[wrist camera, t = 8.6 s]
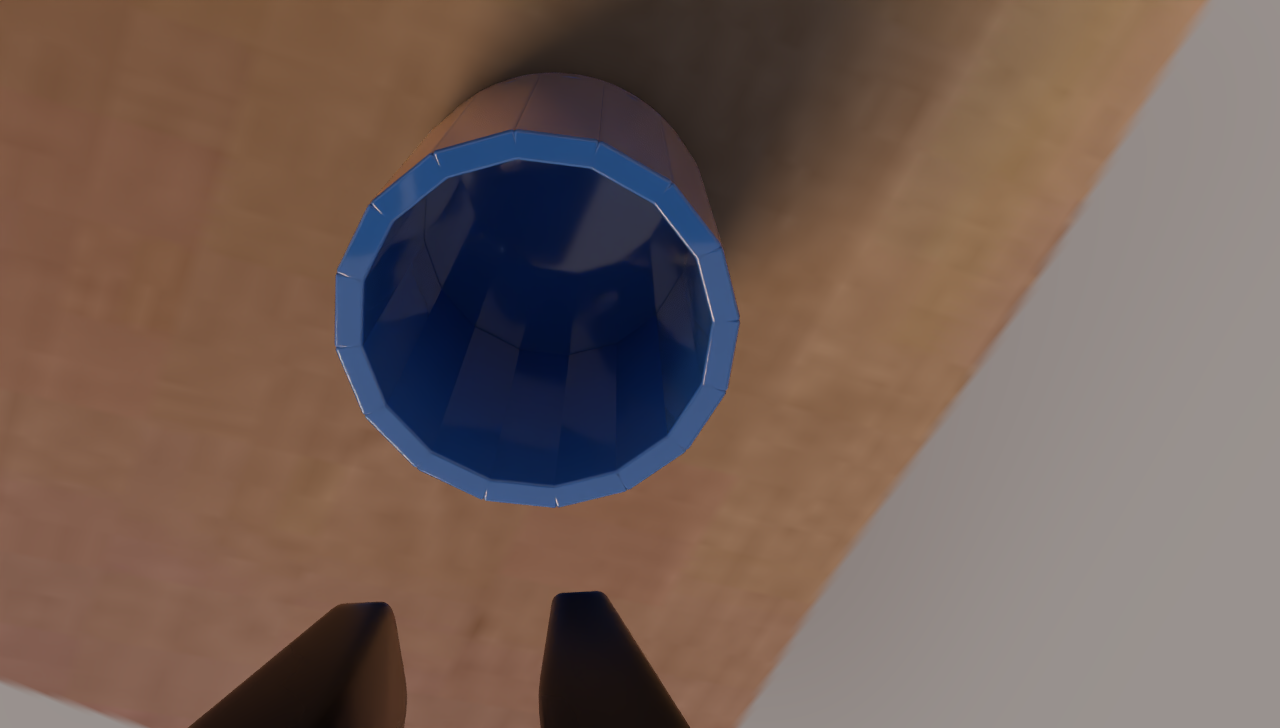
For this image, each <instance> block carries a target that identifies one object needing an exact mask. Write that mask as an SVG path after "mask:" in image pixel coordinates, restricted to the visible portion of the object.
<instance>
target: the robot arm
mask: <svg viewBox="0 0 1280 728" xmlns="http://www.w3.org/2000/svg"><path fill="white" fill-rule="evenodd" d="M406 705H407V690H406V680H405V674H404V668H403V662H402V656H401V650H400V645H399V639H398V633H397V627H396V621H395V616H394V613H393V611H392V609H391V607H390V606H389V605H388V604H387V603H385V602H366V603H346V604H340V605H337V606H336V607H334V608H333V609H331V610H330V611H329V612H328V613H327V614H325V615H324V616H323V617H322V618H320V619H319V620H318V621H317V622H316V623H314V624H313V625H312V626H311V627H310V628H308V629H307V630H306V631H305V632H304V633H302V634H301V635H300V636H299V637H297V638H296V639H295V640H294V641H293V642H291V643H290V644H289V645H288V646H287V647H285V648H284V649H283V650H282V651H280V652H279V653H278V654H277V655H276V656H274V657H273V658H272V659H271V660H270V661H268V662H267V663H266V664H265V665H263V666H262V667H261V668H260V669H259V670H257V671H256V672H255V673H254V674H253V675H251V676H250V677H249V678H248V679H247V680H245V681H244V682H243V683H242V684H240V685H239V686H238V687H237V688H236V689H234V690H233V691H232V692H231V693H230V694H228V695H227V696H226V697H225V698H223V699H222V700H221V701H220V702H219V703H217V704H216V705H215V706H214V707H213V708H211V709H210V710H209V711H208V712H207V713H205V714H204V715H203V716H202V717H200V718H199V719H198V720H197V721H196V722H194V723H193V724H192V725H191V726H190V727H188V728H404V724H405V717H406ZM539 714H540V725H541V728H690V727H689V725H688V724H687V722H686V720H685V719H684V717H683V716H682V714H681V712H680V711H679V709H678V708H677V706H676V705H675V703H674V701H673V700H672V698H671V697H670V695H669V694H668V692H667V690H666V689H665V687H664V686H663V684H662V682H661V681H660V679H659V678H658V676H657V675H656V673H655V671H654V670H653V668H652V667H651V665H650V664H649V662H648V660H647V659H646V657H645V656H644V654H643V652H642V651H641V649H640V648H639V646H638V645H637V643H636V641H635V640H634V638H633V637H632V635H631V633H630V632H629V630H628V629H627V627H626V626H625V624H624V622H623V621H622V619H621V618H620V616H619V615H618V613H617V611H616V610H615V608H614V607H613V605H612V603H611V602H610V600H609V599H608V597H607V596H606V595H605V594H604V593H602V592H600V591H592V592H572V593H560V594H558V595H556V596H555V597H554V599H553V600H552V605H551V612H550V618H549V625H548V631H547V637H546V644H545V650H544V657H543V663H542V670H541V676H540V686H539Z"/></svg>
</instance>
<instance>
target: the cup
mask: <svg viewBox="0 0 1280 728" xmlns="http://www.w3.org/2000/svg"><path fill="white" fill-rule="evenodd" d="M739 318H740V315H739V311H738V306H737V302H736V298H735V294H734V290H733V286H732V282H731V278H730V274H729V270H728V266H727V262H726V257H725V253H724V249H723V246H722V243H721V239H720V236H719V233H718V230H717V226H716V223H715V220H714V217H713V213H712V210H711V207H710V204H709V200H708V197H707V194H706V191H705V187H704V184H703V181H702V178H701V174H700V171H699V168H698V166H697V164H696V162H695V160H694V159H693V158H692V156H691V155H690V153H689V151H688V149H687V148H686V146H685V145H684V143H683V142H682V140H681V139H680V137H679V135H678V134H677V133H676V132H675V130H674V129H673V128H672V127H671V126H670V125H669V123H668V122H667V121H666V120H665V119H664V118H663V117H662V116H661V115H660V114H659V113H657V112H656V111H655V110H654V109H653V108H652V107H651V106H650V105H648V104H647V103H645V102H644V101H642V100H641V99H639V98H638V97H636V96H635V95H633V94H632V93H630V92H628V91H626V90H624V89H622V88H620V87H618V86H616V85H614V84H611V83H608V82H605V81H602V80H599V79H596V78H593V77H588V76H583V75H578V74H572V73H556V72H550V73H536V74H529V75H524V76H519V77H514V78H511V79H508V80H505V81H502V82H500V83H497V84H494V85H492V86H490V87H488V88H486V89H484V90H481V91H480V92H477V93H476V94H475V95H473V96H472V97H471V98H469V99H468V100H466V101H465V102H464V103H462V104H461V105H459V106H458V107H457V108H456V109H455V110H454V111H453V112H452V113H451V114H450V115H449V116H448V117H447V118H445V119H444V120H443V121H442V122H441V123H439V124H438V125H437V126H436V127H435V128H433V129H432V131H431V132H430V133H429V134H428V135H427V136H426V138H425V139H424V140H423V141H422V142H421V143H420V145H419V146H418V147H417V148H416V149H415V150H414V152H413V153H412V154H411V155H410V156H409V157H408V159H407V160H406V161H405V162H404V163H403V164H402V166H401V167H400V168H399V169H398V170H397V171H396V173H395V174H394V175H393V176H392V177H391V178H390V180H389V181H388V182H387V183H386V184H385V185H384V187H383V188H382V189H381V190H380V191H379V192H378V194H377V195H376V196H375V197H374V198H373V199H372V201H371V202H370V203H369V205H368V206H367V208H366V210H365V212H364V214H363V216H362V218H361V220H360V222H359V224H358V227H357V229H356V231H355V233H354V235H353V237H352V239H351V241H350V243H349V245H348V247H347V249H346V251H345V253H344V256H343V258H342V260H341V262H340V264H339V266H338V268H337V273H336V280H335V346H336V351H337V354H338V356H339V358H340V361H341V363H342V366H343V368H344V370H345V373H346V375H347V377H348V380H349V382H350V385H351V387H352V389H353V392H354V394H355V396H356V399H357V401H358V404H359V406H360V408H361V411H362V413H363V414H364V415H365V417H366V419H367V420H368V421H369V422H370V423H371V424H372V425H373V426H374V427H375V428H376V429H377V430H378V431H379V432H380V433H381V434H382V435H383V436H384V437H385V438H386V439H387V440H388V441H389V442H390V443H391V444H392V445H393V446H394V447H395V448H396V449H397V450H398V451H399V452H400V453H401V454H402V455H403V456H404V457H405V458H406V459H407V460H408V461H409V462H410V463H411V464H412V465H413V466H414V467H417V469H418V470H420V471H422V472H424V473H426V474H428V475H430V476H432V477H435V478H437V479H439V480H441V481H443V482H445V483H447V484H449V485H452V486H454V487H456V488H458V489H460V490H462V491H464V492H466V493H469V494H471V495H473V496H475V497H477V498H479V499H484V500H486V501H494V502H503V503H513V504H523V505H532V506H542V507H552V508H555V507H556V506H557V507H563V506H567V505H571V504H576V503H580V502H584V501H588V500H592V499H596V498H600V497H605V496H609V495H613V494H617V493H621V492H625V491H626V490H627V489H628V490H629V489H631V488H633V487H634V486H636V485H637V484H639V483H640V482H642V481H643V480H645V479H646V478H647V477H649V476H650V475H652V474H653V473H655V472H656V471H658V470H659V469H661V468H662V467H664V466H665V465H667V464H668V463H670V462H671V461H673V460H674V459H676V458H677V457H679V456H680V455H681V454H683V453H684V452H685V451H686V449H688V448H690V446H691V445H692V443H693V442H694V440H695V439H696V437H697V436H698V434H699V433H700V431H701V430H702V428H703V427H704V425H705V424H706V422H707V421H708V419H709V418H710V416H711V415H712V413H713V412H714V410H715V409H716V407H717V406H718V404H719V403H720V401H721V400H722V398H723V397H724V395H725V394H726V390H727V389H728V386H729V380H730V375H731V369H732V364H733V358H734V353H735V347H736V342H737V337H738V331H739V326H740V320H739Z"/></svg>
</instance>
